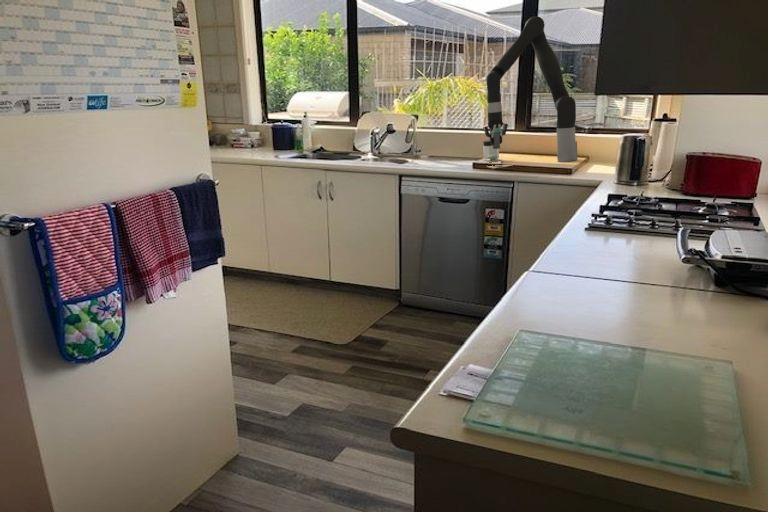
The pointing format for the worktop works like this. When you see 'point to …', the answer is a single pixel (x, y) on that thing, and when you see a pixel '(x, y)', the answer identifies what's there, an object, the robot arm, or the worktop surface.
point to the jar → (489, 150)
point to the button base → (493, 160)
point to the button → (492, 157)
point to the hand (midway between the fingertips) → (496, 144)
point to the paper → (498, 166)
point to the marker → (496, 139)
